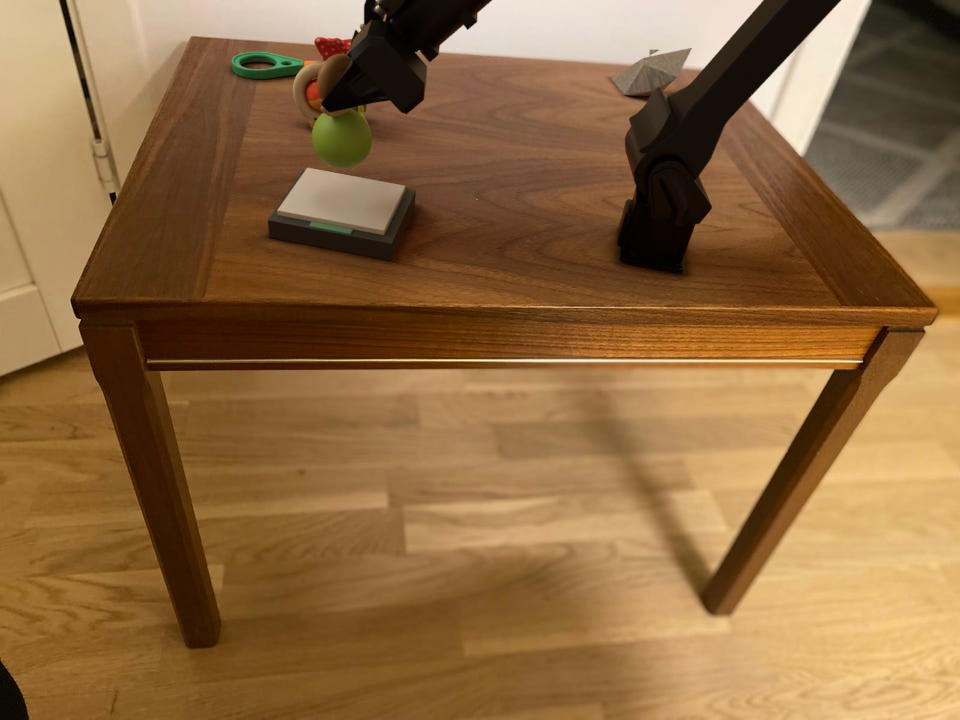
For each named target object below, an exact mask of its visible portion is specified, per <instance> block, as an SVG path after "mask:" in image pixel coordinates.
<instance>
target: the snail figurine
mask: <svg viewBox="0 0 960 720" xmlns="http://www.w3.org/2000/svg"><path fill="white" fill-rule="evenodd" d="M364 27H365V24H364V23H360V24H359V29H360V30H361V29H362V28H364ZM351 61H352V58H350V57H349V56H347V55H345V54H336V55H333V56H331V57H329V58H328V59H327V60H326V61H325V62H324V64H323V65H322V67H321V69H320V71H319V74H318V76H317V77H316V78H317V90H318V94H319V96H320V98H321V99H322V100H323V99H324V97H325V96H326V94H327V93H328V92H329V90H330V89H331V88H332V86H333V85H334V84H335V82H336V81H337V80H338V78H339V77H340V76H341V74H342V73H343V72H344V70H345V69H346V68H347V66H348V65H349V64H350V62H351ZM321 110H322V112H323V114H321V115H320V116H319V118H318V119H317V120H316V122H315V124H314V127H313V128H312V131H311V143H312V146H313V149H314V152H315V153H316V155H317V156H318V158H319V159H320V160H321V161H322V162H324V163H325V164H326V165H328V166H330V167H332V168H334V169H340V170H347V169H352V168H355V167H357V166H359V165H361V164H362V163H363V162H364V161H365V160H366V159H367V158H368V156H369V154H370V152H371V149H372V145H373V134H372V129H371V127H370V125H369V123H367V122H368V121H367V122H366V120H367V119H366V120H365V119H364V118H363V117H362V116H361V115H360V114H359V113H358V112H356V111H354V110H352V109H351V108H349V109H344V110H340V111H335V112H328V111H327V110H326V109H325V108H324V107H323V106H322V107H321Z"/></svg>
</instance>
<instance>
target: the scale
mask: <svg viewBox="0 0 960 720" xmlns="http://www.w3.org/2000/svg"><path fill="white" fill-rule="evenodd" d="M416 192H417V191H416V190H413V189H408V188H407V187H406V185H404V184H398V183H392V182H386V181H381V180H377V179H372V178H365V177H360V176H356V175H349V174H344V173H338V172H333V171H328V170H323V169H317V168H312V167H306V169H303V170H302V171H301V172H300V174H299V175H298V176H297V178H296V179H295V181H294V182H293V184H292V185H291V187H290V188H289V189H288V191H287V192H286V194H285V195H284V196H283V197H282V199H281V200H280V202H279V203H278V204H277V206H276V208H275V209H274V211H272V213H271V215H269V217H268V219H267V227H268V238H269V239H275V240H281V241H285V242H291V243H296V244H302V245H307V246H311V247H312V246H313V247H317V248H323V249H328V250H333V251H334V250H335V251H339V252H343V253H344V252H345V253H349V254H355V255H359V256H364V257H369V258H370V257H371V258H376V259H379V260H380V259H381V260H386V261H392V260H393V258H394V255H395V252H396V251H397V248H398V246H399V243H400V242H401V240H402V237H403V234H404V232H405V230H406V228H407V226H408V224H409V221H410V219H411V216H412V215H413V213H414V210H415V207H416V194H417V193H416Z"/></svg>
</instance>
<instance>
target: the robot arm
mask: <svg viewBox="0 0 960 720" xmlns="http://www.w3.org/2000/svg"><path fill="white" fill-rule="evenodd" d="M492 1H493V0H365V1H364V4H363V24H365V27H364V28H362V29H360V31H359V30H357V29H355V30H354V32H353V34H352V38H351V39H352V40H351V47H350V49H349V50H348V52H347V53H346V55H347V56H349V57H350V58H352V61H351V62H350V64H349V65H348V66H347V68H346V69H345V70H344V72H343V73H342V74H341V76H340V77H339V78H338V80H337V81H336V82H335V84H334V85H333V86H332V88H331V89H330V90H329V92H328V93H327V94H326V96H325V97H324V99H323V100H322V102H321V105H322V106H323V107H324V108H325V109H326V110H327V111H328V112H335V111H340V110H344V109H349V108H353V107H357V106H362V105H366V106H367V105H371V104H376V103H382V102H389V101H390V102H391V104H392V105H393V106H394V107H395V108H396V109H397V110H398V111H399V112H400V113H402V114H404V115H408V114H409V113H410V112H411V111H412V110H414V109H415V108H416V107H418V106H419V105H420V104H421V103H422V102H424V101H425V95H426V89H427V78H428V77H427V76H428V65H427V64H426V63H425V62H424V61H423V60H422V59H421V58H420V56H419V55H418V54H417V52H420V53H421V55H422V56H423V57H424V58H425V59H426V60H427V62H428V63H431V62H432V61H433V60H435V59H436V57H438V56H439V55H440V49H441V48H440V47H441V45H442V44H444V43H445V42H446V41H447V40H449V38H450V37H452V36H453V35H454V34H455V33H456V32H457V31H458V30H460V29H461V28H462V27H463V26H464V28H465V29H466V31H469V30H470V29H471V28H472V27H473V26H474V25H475V24H477V23H478V14H479V12H481V11H482V10H483V9H484V8H485V7H486V6H487V5H489V4H490V3H491V2H492ZM841 2H842V0H762V1H761V2H760V3H759V5H758V6H757V7H756V8H755V9H754V10H753V11H752V12H751V14H750V15H749V16H748V17H747V19H745V21H744V22H743V23H742V24H741V25H740V26H739V28H737V30H736V31H735V32H734V33H733V34H732V35H731V36H730V38H729V39H728V40H727V41H725V44H724V45H723V46H722V47H721V48H720V49H719V51H717V53H716V54H715V55H714V56H713V57H712V58H711V59H710V61H709V62H708V63H707V64H706V65H705V67H703V69H702V70H701V71H700V72H699V73H698V74H697V76H696V77H695V78H694V79H693V80H692V81H691V82H690V83H689V84H688V85H687V86H685V87H683V88H681V89H679V90H678V91H675V92H673V93H671V94H669V95H668V94H667V92H666V91H664V90H662V89H661V88H660V87H658V88H657V89H656V90H655V91H654V92H653V93H652V95H651V96H649V97H648V99H647V101H646V103H645V104H644V105H643V107H642V108H641V109H640V110H638V112H636V113H635V114H633V115H631V116H630V117H629V118H628V121H629V124H630V127H629V129H628V130H627V132H626V134H625V137H624V148H625V155H626V158H627V161H628V164H629V169H630V171H631V175H632V178H633V182H634V184H635V188H634V192H633V195H632V199H630V198H627V199H626V200H625V202H624V206H623V210H622V214H621V217H620V221H619V224H618V226H617V227H618V228H617V231H616V246H617V247H618V248H619V261H620V262H621V263H624V264H630V265H635V266H639V267H646V268H651V269H656V270H660V271H661V270H662V271H666V272H672V273H677V274H682V273H683V272H684V270H685V254H686V251H687V249H688V247H689V244H690V241H691V238H692V236H693V233H694V231H695V226H696V225H699V224H701V222H702V221H703V220H704V219H705V218H706V217H707V216H708V214H709V213H710V212H711V210H712V209H713V205H712V203H711V201H710V198H709V196H708V194H707V192H706V189H705V187H704V186H705V185H704V184H703V182H702V179H701V177H700V175H701V174H702V173H703V171H704V170H705V168H706V167H707V166H708V164H709V163H710V161H711V159H712V157H713V155H714V152H715V151H716V148H717V145H718V143H719V141H720V139H721V136H722V134H723V132H724V129H725V127H726V125H727V124H728V123H729V121H730V120H731V119H732V117H733V116H734V115H735V114H736V113H737V112H738V111H739V110H740V109H741V108H742V107H743V106H744V105H745V104H746V103H747V101H748V100H749V99H751V97H752V96H753V95H754V94H755V93H756V92H757V91H758V90H759V89H760V88H761V86H763V85H764V83H765V82H766V81H767V80H768V79H769V78H770V77H771V76H772V75H773V74H774V73H775V72H776V70H777V69H779V68H780V67H781V65H783V63H784V62H785V61H786V60H787V59H788V58H789V57H790V56H791V55H792V54H793V53H794V52H795V50H797V48H798V47H799V46H800V45H801V44H802V43H803V42H804V41H805V40H806V39H807V38H808V37H809V36H810V35H811V34H812V33H813V32H814V30H815V29H816V28H817V27H818V26H819V25H820V24H821V23H822V22H823V21H824V20H825V19H826V17H828V15H829V14H830V13H831V12H832V11H833V10H834V9H835V8H836V7H837V6H838V5H839V4H840V3H841Z"/></svg>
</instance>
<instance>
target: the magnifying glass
mask: <svg viewBox="0 0 960 720" xmlns="http://www.w3.org/2000/svg"><path fill="white" fill-rule="evenodd" d="M315 61H316V60H303V59H298V58H295V57H290V56H286V55H281V54H277V53H273V52H267V51H246V52H242V53H238V54H236V55H234V56H233V57H232V58H231V67H232V71H233V72H234V74H236V75H238V76H240V77H243V78H246V79H253V80H267V79H274V78H281V77H287V76H293V75H297V74H298V73H299V71H300V70H301V69H302V68H303V67H305V66H306V65H308V64H309V63H312V62H315ZM250 62H268V63H271V64H274V66H272V67H269V68H261V69H259V68H258V69H256V68H255V69H254V68H247V67H245V66H242V65H244V64H246V63H250Z"/></svg>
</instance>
